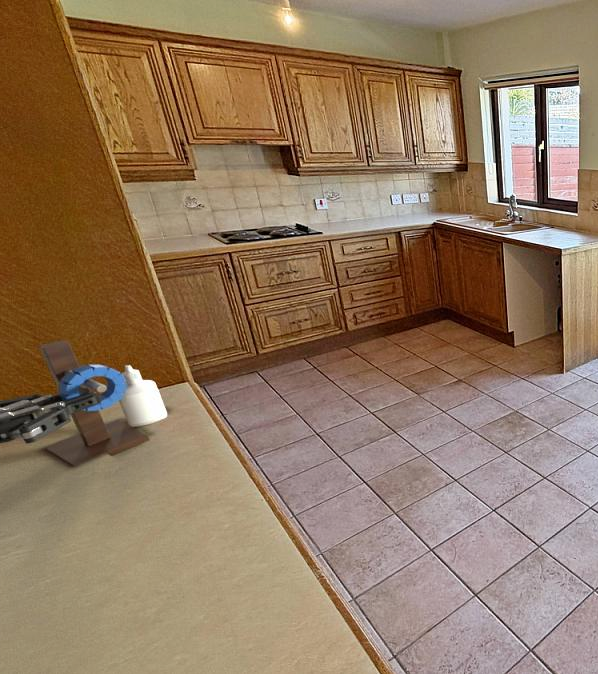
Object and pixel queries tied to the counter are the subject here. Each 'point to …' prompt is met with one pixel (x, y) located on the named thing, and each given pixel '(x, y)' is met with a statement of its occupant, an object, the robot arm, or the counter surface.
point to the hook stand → (87, 416)
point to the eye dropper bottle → (141, 400)
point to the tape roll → (85, 372)
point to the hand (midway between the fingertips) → (92, 394)
